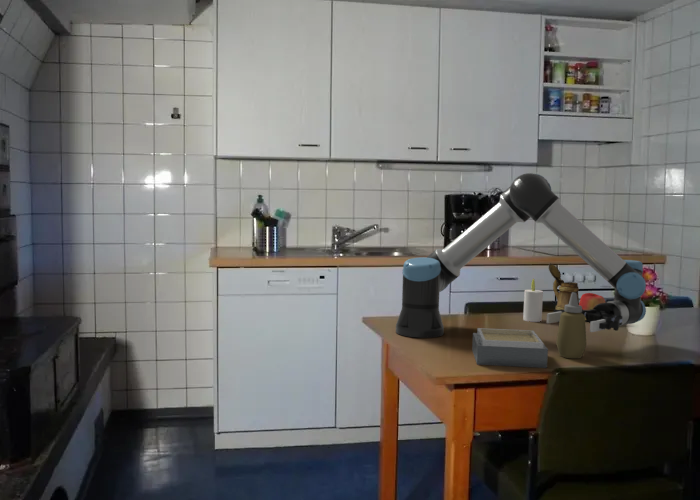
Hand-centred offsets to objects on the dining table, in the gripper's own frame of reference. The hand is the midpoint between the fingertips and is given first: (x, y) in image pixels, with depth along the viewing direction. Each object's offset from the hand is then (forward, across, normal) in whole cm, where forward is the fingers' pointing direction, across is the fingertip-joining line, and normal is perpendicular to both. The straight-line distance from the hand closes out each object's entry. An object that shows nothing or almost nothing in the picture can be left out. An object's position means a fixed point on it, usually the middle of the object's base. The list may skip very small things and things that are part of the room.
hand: (568, 322), depth 188 cm
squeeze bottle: (-2, 0, -10) cm, 10 cm away
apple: (-54, +25, -10) cm, 60 cm away
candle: (-38, +38, -10) cm, 55 cm away
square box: (+15, +9, -10) cm, 20 cm away
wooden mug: (-64, +43, -10) cm, 78 cm away
